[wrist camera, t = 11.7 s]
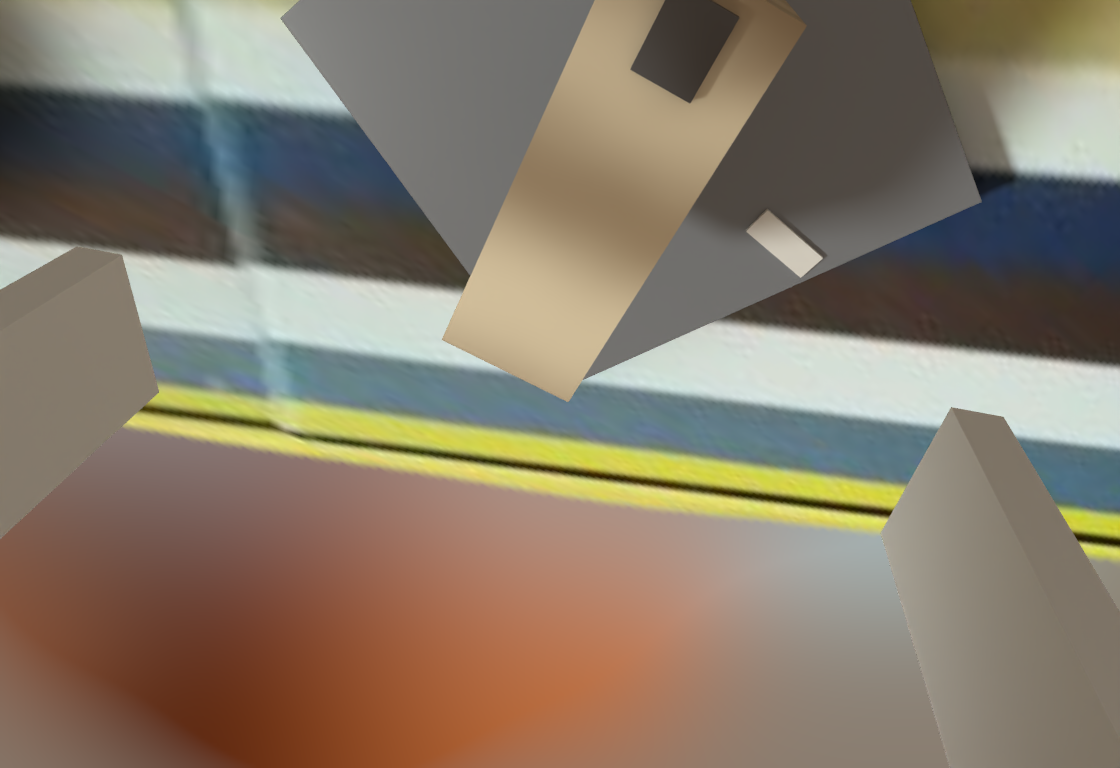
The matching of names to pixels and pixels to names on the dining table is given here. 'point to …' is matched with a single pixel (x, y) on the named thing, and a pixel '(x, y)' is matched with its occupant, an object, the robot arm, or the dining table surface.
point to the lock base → (732, 191)
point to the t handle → (614, 176)
